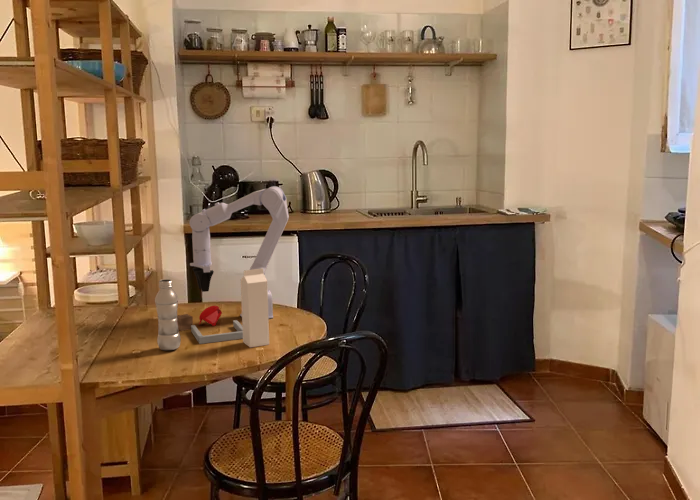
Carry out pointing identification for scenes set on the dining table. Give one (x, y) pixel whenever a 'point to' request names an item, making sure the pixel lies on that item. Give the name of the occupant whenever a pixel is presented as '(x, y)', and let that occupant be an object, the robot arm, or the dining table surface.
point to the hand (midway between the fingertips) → (203, 289)
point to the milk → (254, 308)
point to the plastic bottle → (167, 316)
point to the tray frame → (218, 337)
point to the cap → (210, 315)
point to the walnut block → (184, 322)
